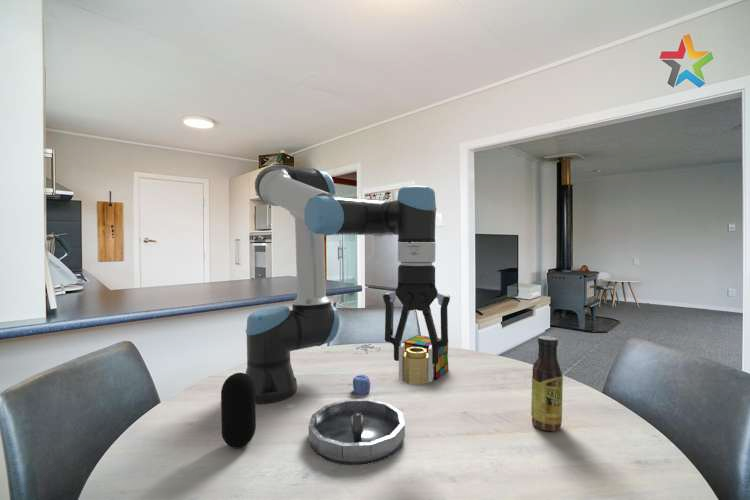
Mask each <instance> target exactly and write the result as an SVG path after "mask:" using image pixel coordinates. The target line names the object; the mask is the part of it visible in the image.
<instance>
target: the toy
mask: <svg viewBox="0 0 750 500" xmlns="http://www.w3.org/2000/svg"><path fill="white" fill-rule="evenodd" d="M438 339H441V337H440V338H439V337H438ZM402 343H405V352H406V350H407V348H410V347H422V348H424V349H427V353H428V349H429V346H430V345H432V344H431V341H430V337H429V336H426V335H418V334H416V335H414V336H413V337H410V338H408V339H407V340H404V341H402ZM448 369H449V342H448V343H447V346H442V347H440V348H439V361H438V364H433V381H436V380H438V379H439V378H440V377H441V376H443V375H444V374H445V373H447V371H449V370H448Z"/></svg>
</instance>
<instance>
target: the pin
mask: <svg viewBox="0 0 750 500" xmlns="http://www.w3.org/2000/svg"><path fill="white" fill-rule="evenodd" d="M358 442H361V413H354V414H353V443H358Z"/></svg>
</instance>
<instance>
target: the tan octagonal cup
mask: <svg viewBox="0 0 750 500" xmlns="http://www.w3.org/2000/svg"><path fill="white" fill-rule="evenodd" d="M402 380H403V381H404V382H406V383H407V384H411V385H418V386H419V385H424V384H427V383H429V382H428V353H427V349H424V348H422V347H410V348H407V350H406V352H405V353H404V354H403V379H402Z"/></svg>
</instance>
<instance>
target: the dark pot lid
mask: <svg viewBox="0 0 750 500" xmlns="http://www.w3.org/2000/svg"><path fill="white" fill-rule="evenodd" d="M354 413H361V442H358V443H353V414H354ZM405 422H406V421H405V420H404V415H403V412H402V411H401V410H399V409H398V408H396V407H395V406H393V405H392V404H391V403H388V402H385V401H380V400H375V399H372V398H371V399H370V398H360V399H359V398H354V399H352V398H350V399H349V398H348V399H343V400H339V401H336V402H332V403H329V404H325V405H324V406H323V407H321V408H320V409H318V410H317V411H315V412H314V413H312V414H311V418H310V421H309V424H308V441H309V443H310V448H311V449H312V452H314V454H316V455H317V456H318V457H320V459H323V460H324V461H327V462H330V463H333V464H337V465H342V466H343V465H344V466H345V465H346V466H363V465H370V464H375V463H379V462H381V461H383V460H386V459H388V458H390V457H392V456H393V455H394V454H396V453H397V452H398V451H399V450H400V449H401V448H402V446H403V443H404V439H405V437H406V424H405Z"/></svg>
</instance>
